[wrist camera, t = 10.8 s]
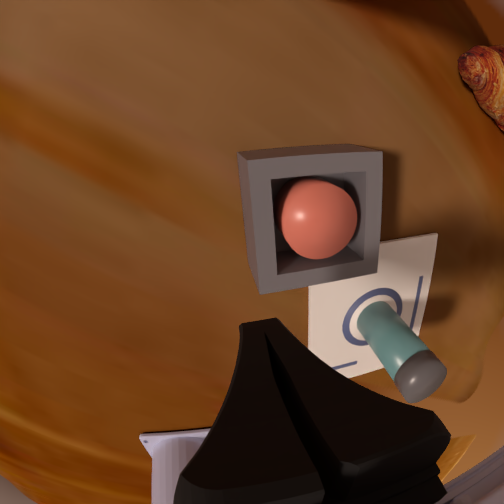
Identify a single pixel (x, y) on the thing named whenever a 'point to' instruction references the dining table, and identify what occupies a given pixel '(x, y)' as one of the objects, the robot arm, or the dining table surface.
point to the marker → (401, 352)
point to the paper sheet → (363, 294)
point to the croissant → (486, 78)
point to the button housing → (270, 238)
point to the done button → (314, 216)
